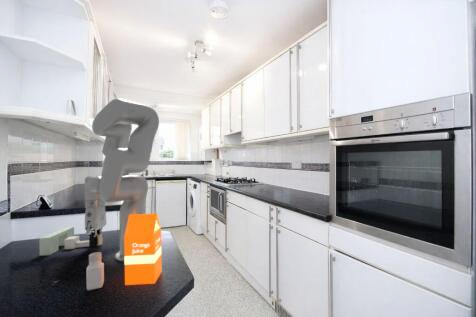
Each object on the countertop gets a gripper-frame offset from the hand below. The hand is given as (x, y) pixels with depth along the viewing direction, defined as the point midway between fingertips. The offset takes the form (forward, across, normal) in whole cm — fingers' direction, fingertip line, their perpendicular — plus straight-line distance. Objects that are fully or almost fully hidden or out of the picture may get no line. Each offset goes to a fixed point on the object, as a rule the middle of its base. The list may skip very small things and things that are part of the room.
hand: (95, 244), depth 102 cm
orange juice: (+1, -34, -31) cm, 46 cm away
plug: (+1, 0, +5) cm, 5 cm away
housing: (+1, 0, +16) cm, 16 cm away
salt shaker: (+1, -37, -18) cm, 41 cm away
